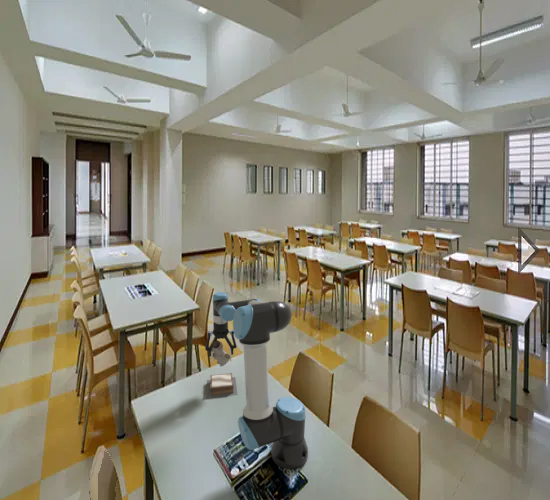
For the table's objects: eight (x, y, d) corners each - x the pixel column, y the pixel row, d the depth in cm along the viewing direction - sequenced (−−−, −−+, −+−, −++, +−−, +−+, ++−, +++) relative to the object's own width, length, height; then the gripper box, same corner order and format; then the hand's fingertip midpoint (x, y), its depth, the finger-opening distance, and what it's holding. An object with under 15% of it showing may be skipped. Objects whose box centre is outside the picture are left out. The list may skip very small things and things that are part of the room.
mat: (237, 395, 164) (237, 394, 164) (206, 398, 160) (206, 398, 160) (235, 377, 179) (235, 377, 179) (207, 380, 176) (206, 380, 176)
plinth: (233, 392, 165) (233, 385, 164) (210, 395, 163) (210, 388, 162) (232, 379, 177) (231, 372, 176) (210, 381, 174) (210, 374, 174)
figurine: (209, 362, 169) (209, 337, 166) (227, 359, 173) (227, 334, 171) (213, 371, 161) (213, 344, 159) (232, 367, 166) (232, 341, 163)
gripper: (240, 317, 168) (240, 355, 173) (199, 319, 164) (200, 358, 168) (242, 323, 161) (242, 362, 165) (199, 325, 157) (200, 366, 161)
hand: (221, 360), depth 167 cm, fingers closed on figurine, 9 cm apart
